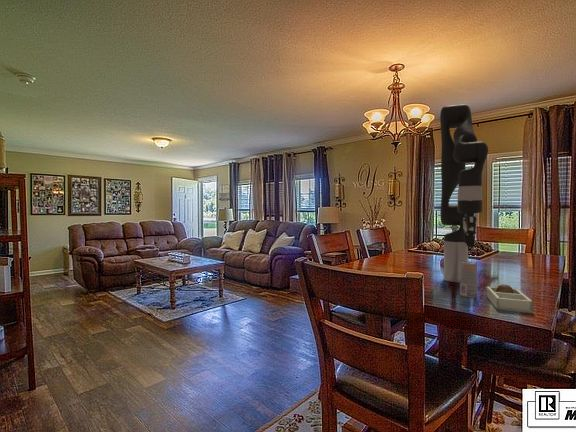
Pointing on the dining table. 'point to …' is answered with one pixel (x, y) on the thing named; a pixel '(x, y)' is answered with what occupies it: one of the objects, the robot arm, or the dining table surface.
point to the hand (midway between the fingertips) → (469, 245)
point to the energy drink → (468, 279)
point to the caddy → (510, 300)
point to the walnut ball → (504, 289)
